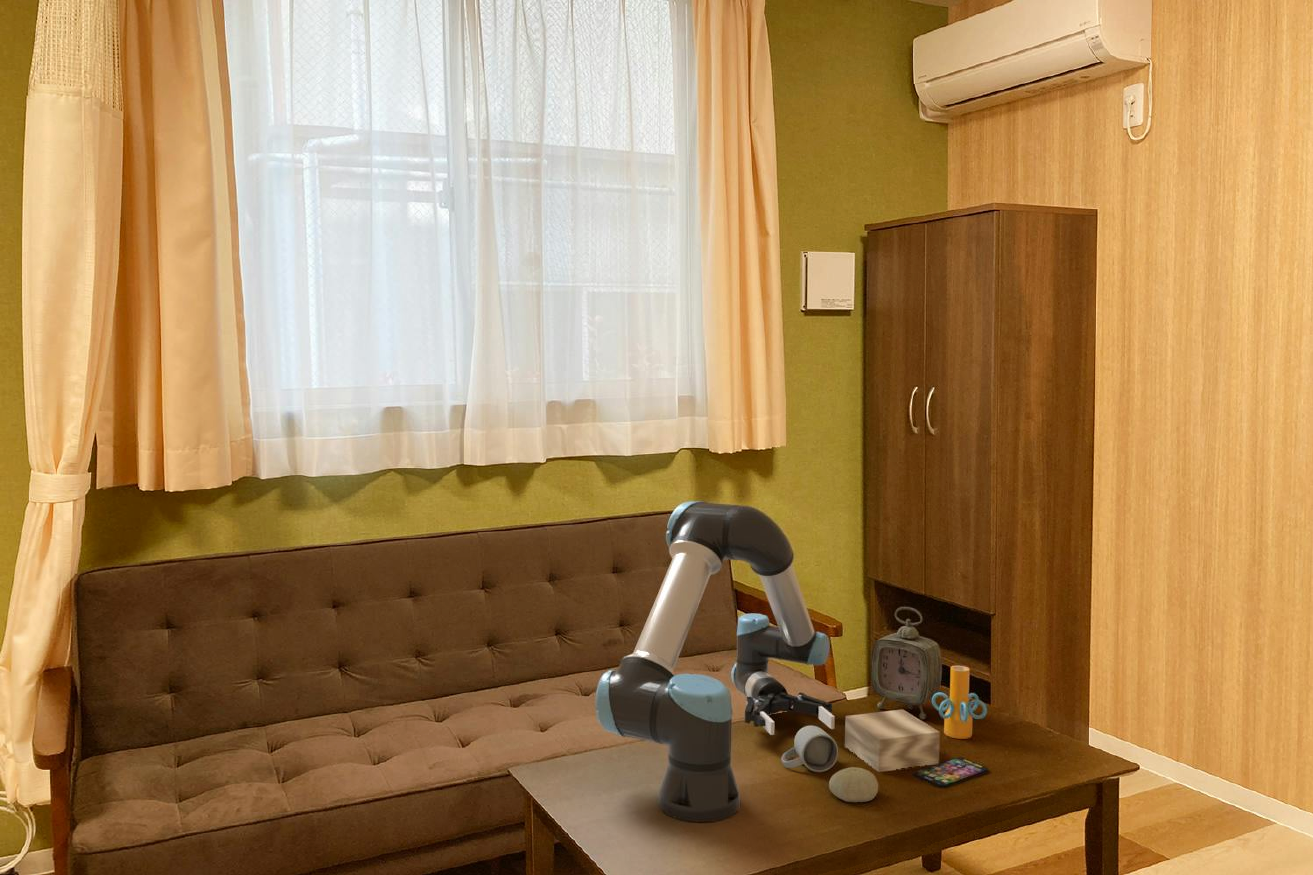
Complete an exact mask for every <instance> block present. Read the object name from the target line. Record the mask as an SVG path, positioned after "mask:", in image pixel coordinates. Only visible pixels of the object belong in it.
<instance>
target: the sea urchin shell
mask: <svg viewBox="0 0 1313 875" xmlns="http://www.w3.org/2000/svg"><path fill="white" fill-rule="evenodd" d="M830 777H831V778H830V779H829V781H828V788H829V790H830V792H831V793H832V794H833V796H835V797H836V798H838V799H840V800H842V801H844V802H847V803H863V802H864V803H866V802H869V801H872V800H873V799H874V798H875V797H877V794H878V791H879V782H878V780H877V777H876V776H875V774H874V773H872V772H871V771H869V770H867V769H865V768H862V767H858V766H857V767H854V766H851V767H847V768H843V769H840V770H838V771H837V772H835V773H834V774H832V776H830Z"/></svg>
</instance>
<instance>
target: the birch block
mask: <svg viewBox="0 0 1313 875" xmlns="http://www.w3.org/2000/svg"><path fill="white" fill-rule="evenodd" d="M844 723H845V726H844V727H845V728H844V729H845V730H844V748H846V749H847V748H848V749H849V751H850V752H851V753H852V752H853V753H852V754H854V753H855V754H856V755H857V757H858V758H859V759H861V760H862V761H863V760H864V761H863V762H864V763H865V764H867V763H868V764H867V765H868V766H870V767H871V766H872V767H871V768H872V769H874V770H875V771H876V772H878V773H883V772H888V771H889V772H891V771H897V770H896V769H898V770H902V769H901V768H905V769H909V768H908V767H912V768H914V767H913V766H920V767H926V766H925V765H927V766H933V765H936V764H939V763H940V738H941V734H940V731H939V730H937V729H935V728H934V727H932V726H931V725H929V724H927V723H926V722H924V721H923V720H922V719H920V718H917V717H916V716H914V715H913V714H911V713H909V712H908V711H906V710H904V709H896V710H895V709H894V710H885V711H879V712H878V711H877V712H869V713H860V714H853V715H852V714H851V715H846V716H845V722H844ZM848 749H847V750H848ZM855 754H854V755H855ZM856 755H855V756H856Z"/></svg>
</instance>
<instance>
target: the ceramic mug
mask: <svg viewBox="0 0 1313 875" xmlns="http://www.w3.org/2000/svg"><path fill="white" fill-rule="evenodd" d="M793 741H794V742H793V743H794V744H793V745H794V746H793V747H792V748H790V749H788V750H786V752H784V753H783V754H782V756H781V762H782V764H783V767H785V768H786V769H794V768H798V767H800V766H802V765H804V766H805V767H806V768H807V769H809V770H810V771H812V772H815V773H823V772H827V771H829V770H830V769H831V768H833V767H834V766H835V764H836V763H837V760H838V757H839V747H838V744H837V742H836V740H835V739H834V738H833V737H832V736H830V734H828V733H827V732H826V731H825V730H824V729H823V728H821V727H819V726H817V725H806V726H803V727H802V728H799V730H798V731H797V732H796V735H795V736H794V740H793ZM795 755H797V756H798V757H797V758H795V759H791V760H789V759H790V758H792V757H794V756H795Z"/></svg>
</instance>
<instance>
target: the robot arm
mask: <svg viewBox="0 0 1313 875" xmlns="http://www.w3.org/2000/svg"><path fill="white" fill-rule="evenodd" d="M666 528H667V531H666V533H665V541H666V544H667V547H668V553H669V555H670V557H671V562H670V564H669V566H668V569H667V571H666V573H665V576H664V578H663V581H662V582H661V585H660V588H659V591H658V594H656V597H655V600H654V603H653V605H652V608H651V609H650V612H649V615H648V617H647V618H646V622H645V624H644V626H643V629H642V630H641V633H640V636H639V638H638V640H637V643H636V645H635V648H634V650H633V652H632V653H631V654H628V655H625V656H623V658H622V659H621V662H620V664H619V666H618V668H617V670H616V669H610V670H607V671H606V672H604V673H603V674H602V675H601V677H600V678H599V680H598V683H597V687H596V693H595V713H596V716H597V720H598V722H599V724H600V726H601V727H602V728H603V729H604V730H605V731H606V732H609V733H611V734H615V735H618V736H620V737H622V738H625V737H626V738H631V739H636V740H641V741H647V742H650V743H656V744H661V745H666V746H667V748H668V749H667V752H668V757H667V758H668V760H667V761H668V763H667V765H666V769H665V771H664V775H663V777H662V781H661V784H660V785H659V786H660V787H659V789H658V808H660V810H661V811H662V812H663V813H665V814H666V815H668V816H670V817H672V818H675V819H677V820H682V821H687V822H694V823H695V822H696V823H697V822H698V823H706V822H707V823H709V822H715V821H721V820H725V819H728V818H729V817H732V816H733V815H735V814H736V813H737V812H739V809H740V806H741V804H740V803H741V800H740V799H741V797H740V795H741V794H740V789H739V786H738V782H737V780H736V778H735V774H734V770H733V766H732V726H733V725H732V724H733V722H732V720H733V718H732V716H733V708H732V707H733V705H732V695H731V692H730V690H729V688H728V687H727V686H726V684H725V683H723V682H721V681H720V680H718V679H716V678H714V677H712V676H708V675H705V674H700V673H693V674H690V673H681V674H680V673H678V674H675V672H674V669H675V668H676V664H677V662H678V659H679V657H680V653H681V651H682V648H683V646H684V643H685V640H686V638H687V636H688V633H689V631H690V628H691V626H692V623H693V621H694V618H695V615H696V613H697V610H698V608H699V604H700V602H701V600H702V597H703V594H704V592H705V590H706V588H707V587H706V586H707V584H708V582H709V579H710V577H711V575H715V574H717V573H718V572H719V571H720V570H721V568H722V566H723V563H724V561H725V560H732V561H741V562H745V563H748V564H749V566H750V568H751V571H752V572H753V573H754V574H755V575H757V576H759V580H760V581H761V584H762V587H763V589H764V593H765V596H766V598H767V601H768V603H769V606H770V608H771V611H772V614H773V616H774V619H775V622H776V624H777V626H776V625H771V624H770V619H769V617H768V615H765V614H762V613H744V614H742V615H740V616H739V617H738V619H737V629H736V630H737V631H736V661H735V663H734V665H733V667H732V669H731V672H730V677H731V681H732V683H733V685H735V687H736V689H737V690H738V691H739V692H740V693H742V694H743V695H744V696H746V706H745V709H744V723H746V724H750V723H751V722H753V727H755V728H759V727H762V728H763V729H764V730H765V731H766V732H767V733H769V735H770V736H773V735H775V721H774V720H773V719H772V718H771V717H770V715H774V714H778V713H779V712H783V713H784V712H788V713H792V714H796V713H797V712H798V713H801V714H805V715H806V714H807V715H810V716H815V717H818V719H819V721H821V722H822V723H823V724H824V725H826V726H827V727H828V728H829V729H831V730H835V715H833V703H831V702H828V701H825V700H822V699H819V698H815V697H812V696H810V695H808V694H806V693H804V692H799V693H797V694H798V695H797V696H795V695H792V694H789V693H788V691H787V689H786V686H784V685H783V684H782V683H781V682H780V681H778V679H776V678H775V677H774V676H773V675H771V674H770V673H769V659H773V660H779V661H787V662H792V663H798V664H802V665H803V664H804V665H806V666H807V665H808V666H810V665H811V666H823V665H824V664H825V663H826V662H827V660H828V658H829V654H830V647H831V646H830V638H829V636H828V635H827V634H826V633H823V632H820V631H815V628H814V626H813V623H812V620H811V618H810V614H809V611H808V608H807V605H806V601H805V599H804V596H803V593H802V590H801V587H800V584H799V581H798V578H797V575H796V572H795V569H794V566H793V563H794V560H795V556H794V555H795V554H794V551H793V548H792V546H791V543H790V540H789V538H788V536H787V535H786V534H785V533H784V531H783V530H782V529H781V527H780V526H779V525H778V524H777V523H776V521H774V520H773V518H771V517H770V516H769V515H767V514H766V513H765V512H763V511H762V510H759V509H758V508H756V507H754V506H751V505H745V504H740V505H738V504H727V503H726V504H725V503H716V502H715V503H714V502H707V501H703V500H697V501H685V502H683V503H680V504H678V506H676V508H675V509H674V510H673V511H672V513H671V515H670V517H669V519H668V522H667V526H666Z"/></svg>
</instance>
